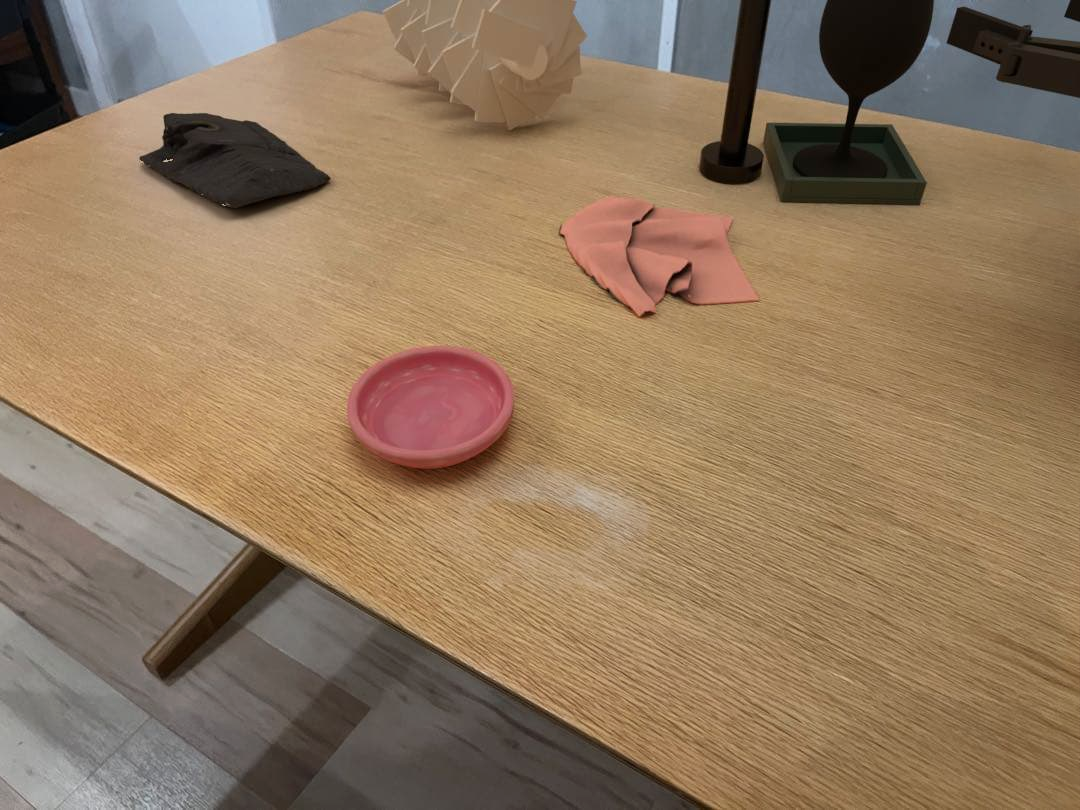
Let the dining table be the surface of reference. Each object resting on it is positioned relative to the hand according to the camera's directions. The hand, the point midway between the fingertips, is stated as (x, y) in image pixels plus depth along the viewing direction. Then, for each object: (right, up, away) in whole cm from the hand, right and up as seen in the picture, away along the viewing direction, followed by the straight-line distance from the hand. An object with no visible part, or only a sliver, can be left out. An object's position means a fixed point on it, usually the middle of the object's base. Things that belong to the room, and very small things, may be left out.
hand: (1015, 11), depth 68 cm
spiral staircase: (-46, +7, +41) cm, 63 cm away
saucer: (-47, -34, -5) cm, 59 cm away
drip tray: (-6, -6, +25) cm, 27 cm away
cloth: (-28, -18, +13) cm, 36 cm away
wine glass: (-5, -6, +25) cm, 26 cm away
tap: (-16, -6, +26) cm, 31 cm away
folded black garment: (-75, -6, +27) cm, 80 cm away
